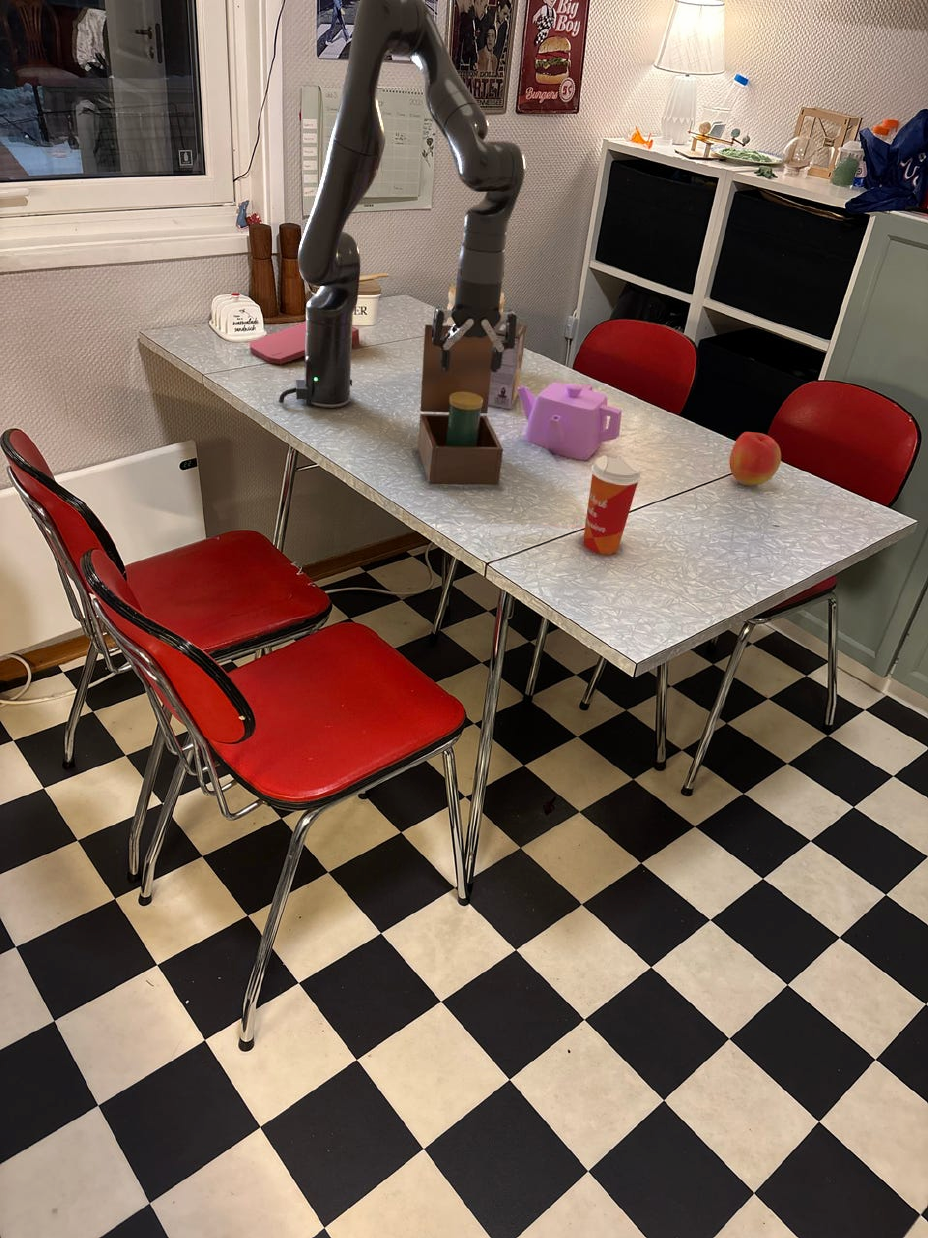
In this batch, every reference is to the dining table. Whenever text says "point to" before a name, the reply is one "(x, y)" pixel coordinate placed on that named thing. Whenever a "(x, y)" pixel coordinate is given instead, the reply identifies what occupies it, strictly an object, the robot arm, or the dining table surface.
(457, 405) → the tea tin
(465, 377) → the chest lid
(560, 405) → the teakettle
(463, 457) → the chest
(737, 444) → the apple
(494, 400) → the coffee box
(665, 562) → the dining table surface
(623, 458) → the coffee cup
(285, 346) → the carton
